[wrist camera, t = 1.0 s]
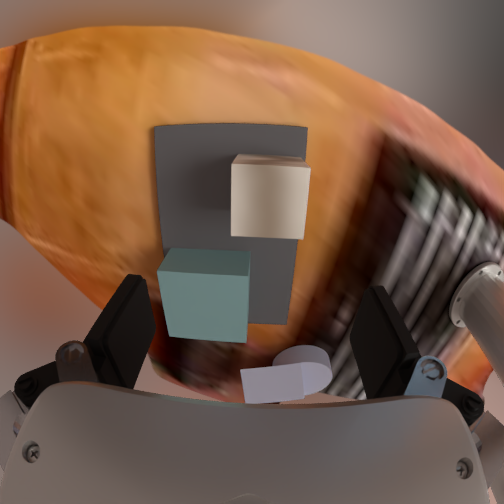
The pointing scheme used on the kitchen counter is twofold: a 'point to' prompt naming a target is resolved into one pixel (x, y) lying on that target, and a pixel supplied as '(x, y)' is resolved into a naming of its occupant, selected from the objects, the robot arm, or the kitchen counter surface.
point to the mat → (224, 202)
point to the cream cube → (269, 196)
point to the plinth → (206, 293)
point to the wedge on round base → (288, 376)
